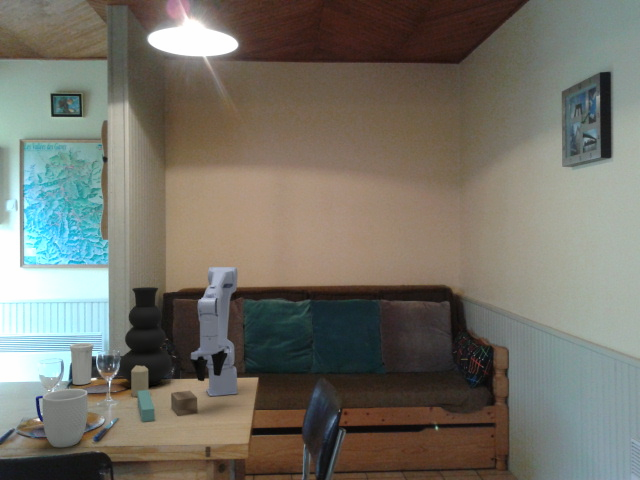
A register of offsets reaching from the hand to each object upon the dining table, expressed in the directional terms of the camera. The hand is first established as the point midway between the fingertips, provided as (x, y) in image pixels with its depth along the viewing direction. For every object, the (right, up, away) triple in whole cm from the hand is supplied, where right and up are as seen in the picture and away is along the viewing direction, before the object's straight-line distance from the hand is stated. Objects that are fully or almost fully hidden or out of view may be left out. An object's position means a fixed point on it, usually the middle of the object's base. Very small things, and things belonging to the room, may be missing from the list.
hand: (209, 378), depth 187 cm
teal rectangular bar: (-19, -10, -3) cm, 22 cm away
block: (-7, -10, -3) cm, 13 cm away
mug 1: (-39, -10, -19) cm, 45 cm away
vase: (-29, -9, +30) cm, 42 cm away
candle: (-26, -9, +15) cm, 32 cm away
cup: (-52, -9, +29) cm, 61 cm away
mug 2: (-32, -10, -30) cm, 45 cm away
